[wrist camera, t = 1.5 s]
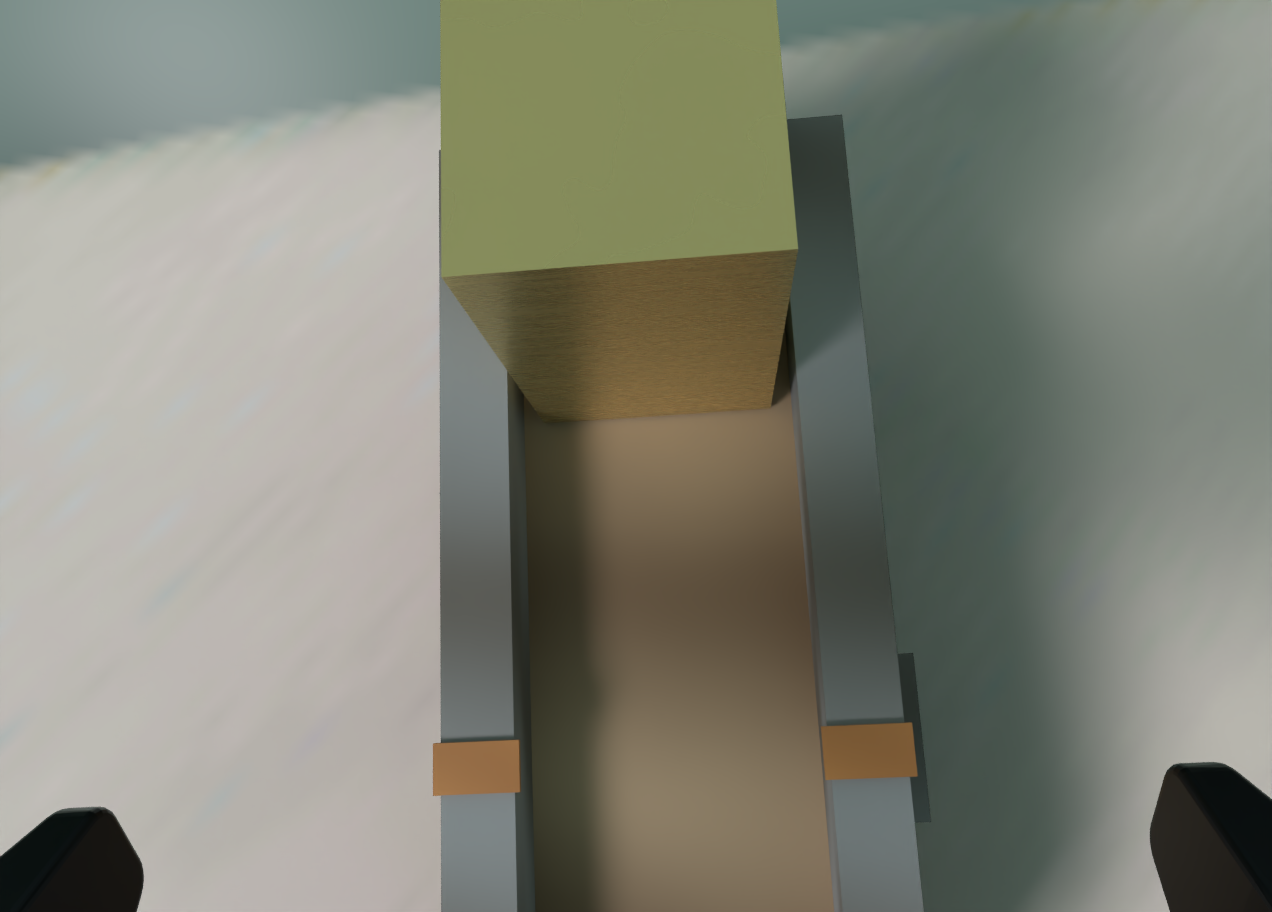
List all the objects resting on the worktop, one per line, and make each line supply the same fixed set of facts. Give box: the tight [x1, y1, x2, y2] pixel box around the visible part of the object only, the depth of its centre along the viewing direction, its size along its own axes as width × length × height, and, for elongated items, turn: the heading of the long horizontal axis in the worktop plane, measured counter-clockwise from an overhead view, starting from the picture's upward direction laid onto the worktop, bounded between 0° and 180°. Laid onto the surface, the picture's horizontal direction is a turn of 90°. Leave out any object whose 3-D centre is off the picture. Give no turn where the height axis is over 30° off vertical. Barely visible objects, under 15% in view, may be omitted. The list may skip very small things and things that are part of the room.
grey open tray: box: [433, 115, 931, 912], centre depth 19 cm, size 18×9×7 cm, turn 3°
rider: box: [440, 0, 798, 424], centre depth 15 cm, size 4×4×7 cm
